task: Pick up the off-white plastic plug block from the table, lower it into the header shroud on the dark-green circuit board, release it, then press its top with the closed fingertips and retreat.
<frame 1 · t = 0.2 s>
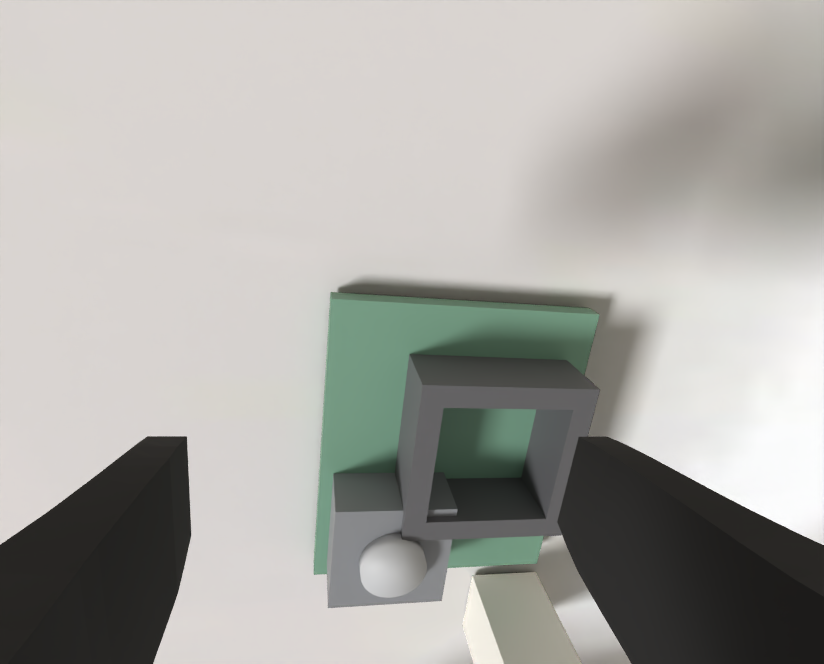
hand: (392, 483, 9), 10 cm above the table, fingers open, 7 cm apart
board: (444, 440, 21), on the table
plug: (498, 599, 25), on the table
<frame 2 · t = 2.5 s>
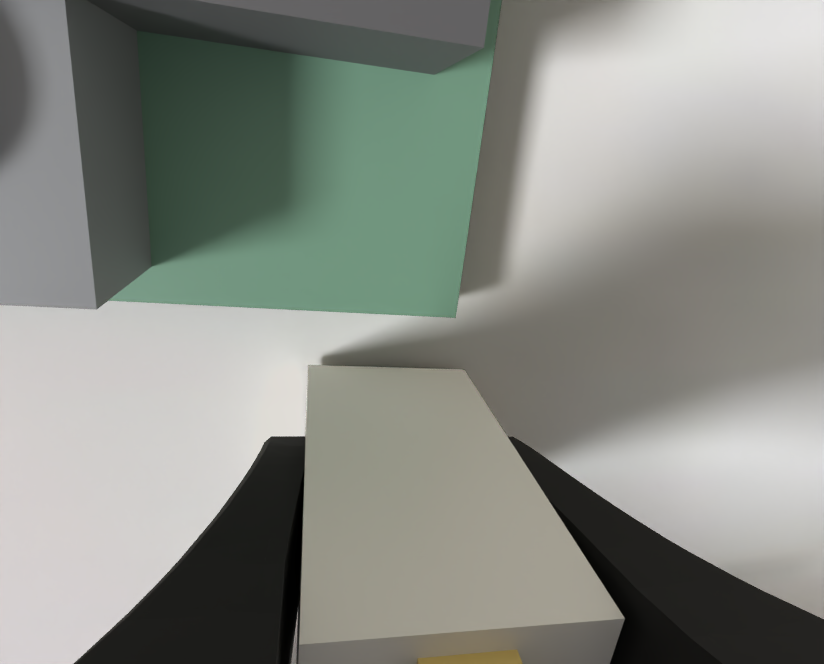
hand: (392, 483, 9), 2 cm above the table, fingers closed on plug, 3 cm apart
plug: (381, 435, 11), on the table, touching gripper
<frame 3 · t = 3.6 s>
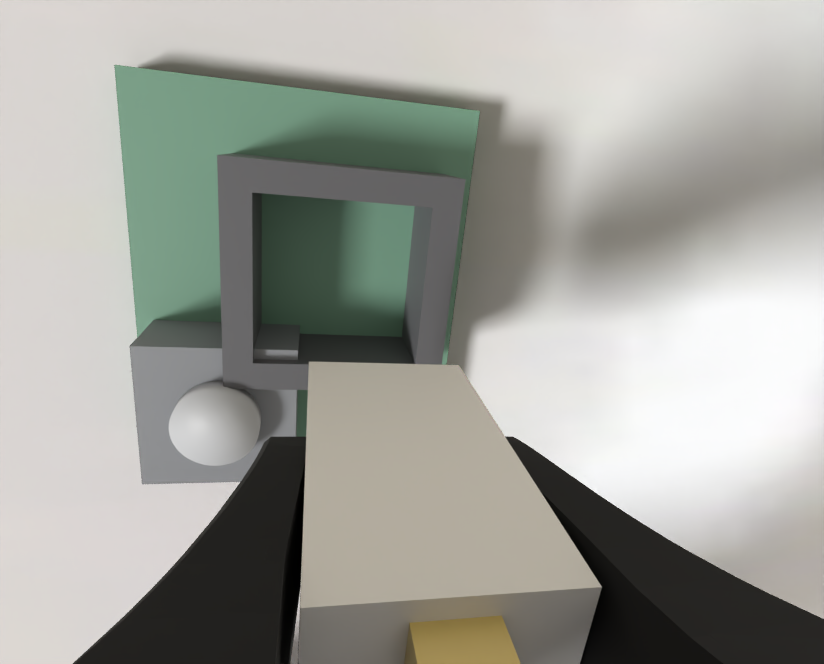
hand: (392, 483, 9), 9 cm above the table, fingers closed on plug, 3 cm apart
board: (304, 288, 17), on the table
plug: (380, 429, 11), point 7 cm above the table, touching gripper
when the fingers open (4 cm above the table, at t = 5.1 s): plug stays where it is, resting on board.
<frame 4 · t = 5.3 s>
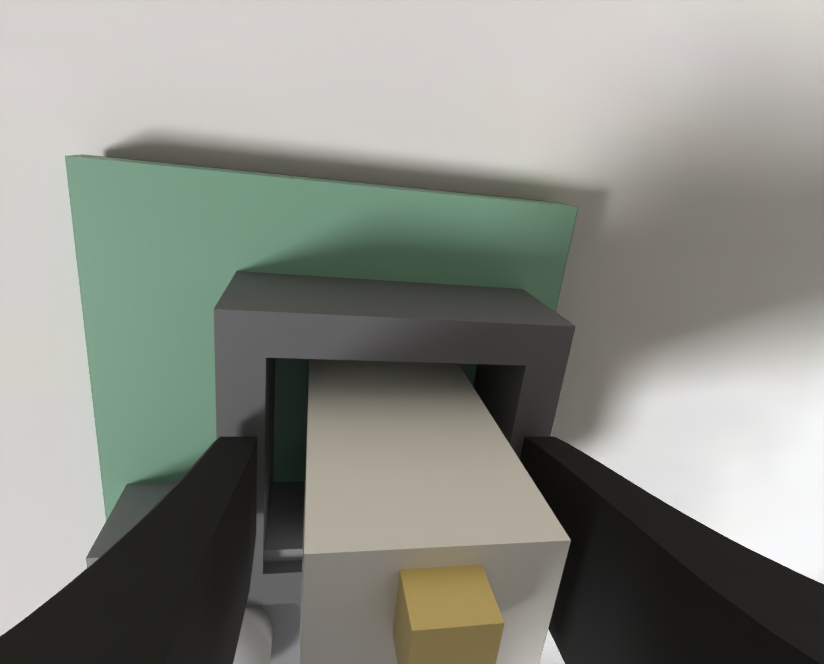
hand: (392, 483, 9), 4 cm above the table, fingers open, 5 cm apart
board: (329, 427, 13), on the table
plug: (376, 412, 12), point 1 cm above the table, touching board
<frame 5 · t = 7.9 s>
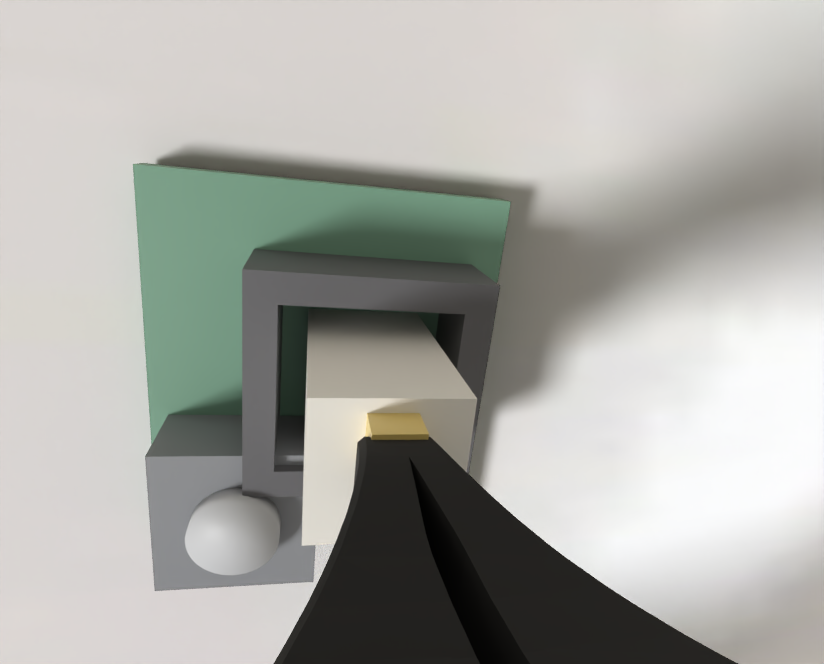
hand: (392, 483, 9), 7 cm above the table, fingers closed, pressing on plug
board: (324, 375, 16), on the table
plug: (360, 361, 15), point 1 cm above the table, touching board, gripper
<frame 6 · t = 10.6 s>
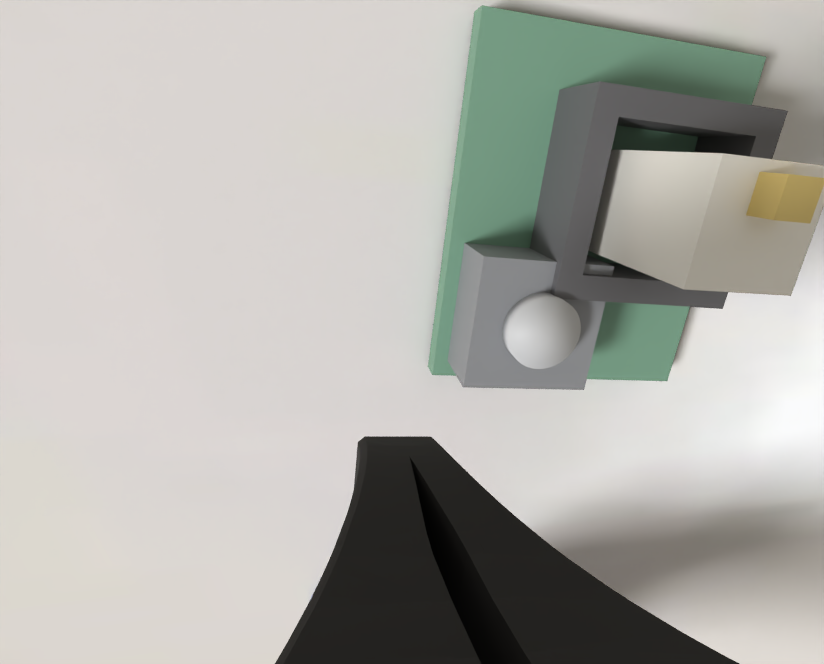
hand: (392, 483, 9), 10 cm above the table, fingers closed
board: (579, 221, 19), on the table
plug: (622, 201, 18), point 1 cm above the table, touching board
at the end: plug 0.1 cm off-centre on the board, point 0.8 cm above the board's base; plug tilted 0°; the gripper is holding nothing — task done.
